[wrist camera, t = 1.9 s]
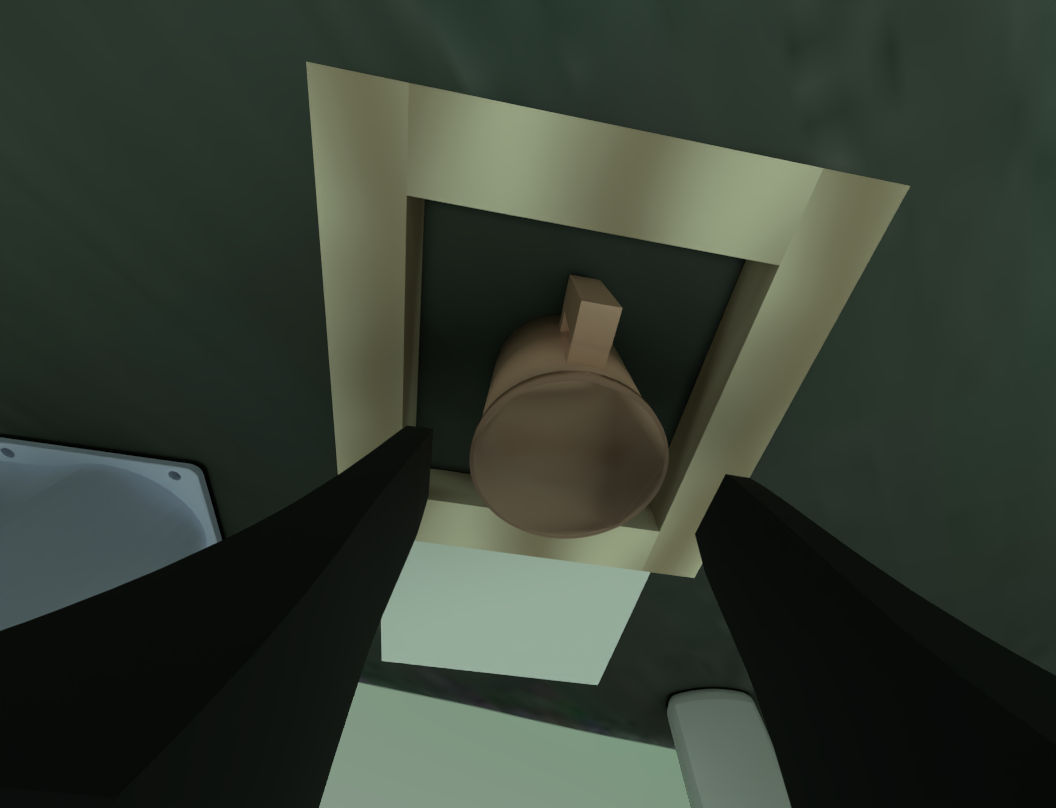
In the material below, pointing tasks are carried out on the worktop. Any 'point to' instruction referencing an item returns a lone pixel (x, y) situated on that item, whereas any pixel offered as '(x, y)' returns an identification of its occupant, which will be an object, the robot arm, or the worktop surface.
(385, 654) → the mat
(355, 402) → the holder
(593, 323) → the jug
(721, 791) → the eye dropper bottle
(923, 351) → the worktop surface
